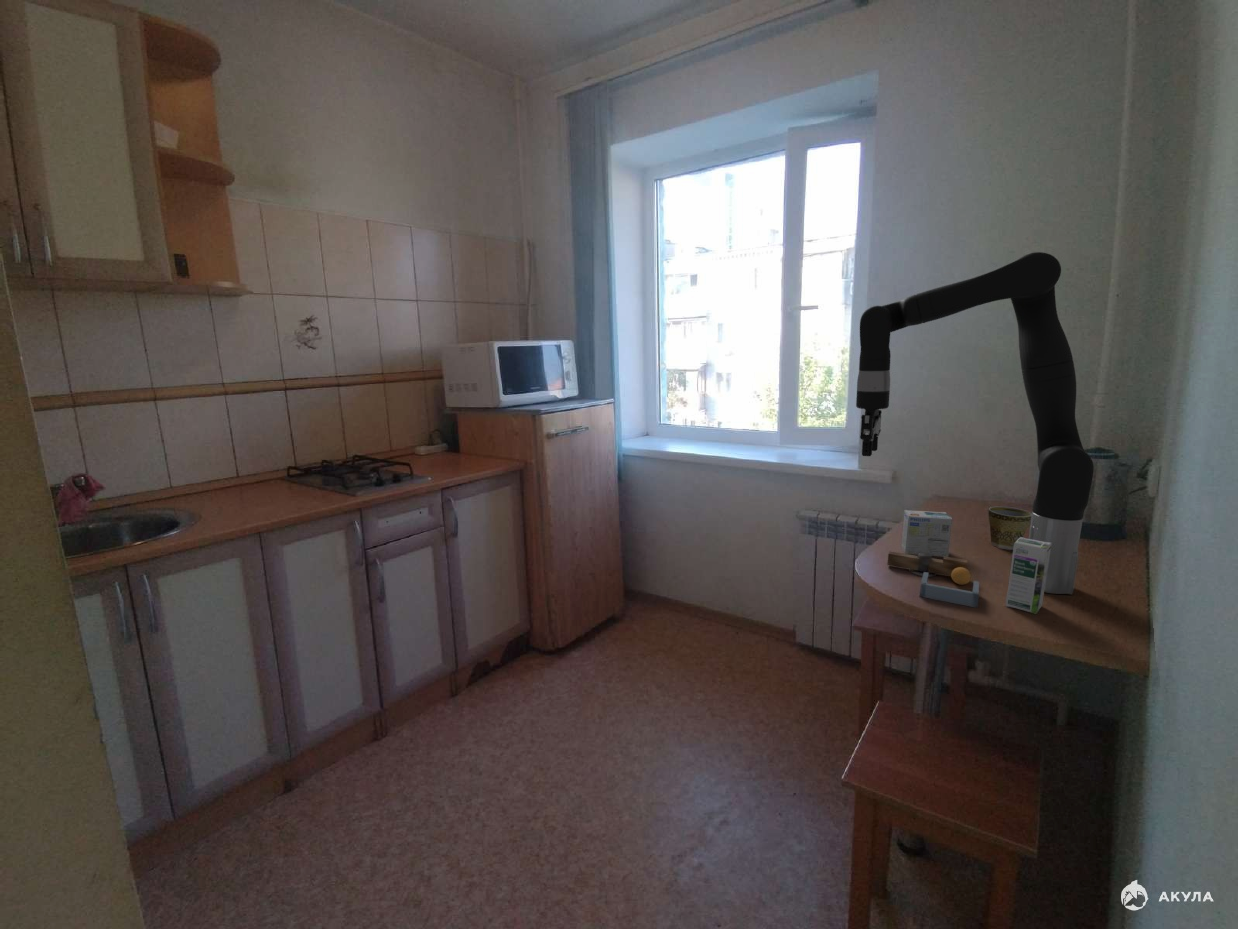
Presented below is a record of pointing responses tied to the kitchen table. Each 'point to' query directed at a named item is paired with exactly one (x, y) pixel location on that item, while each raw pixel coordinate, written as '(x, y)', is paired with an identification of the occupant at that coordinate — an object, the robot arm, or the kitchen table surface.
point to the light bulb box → (926, 533)
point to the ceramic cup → (1007, 525)
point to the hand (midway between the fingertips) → (869, 453)
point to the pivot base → (922, 573)
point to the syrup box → (1028, 574)
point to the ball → (961, 575)
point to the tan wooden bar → (926, 563)
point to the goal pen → (949, 593)
